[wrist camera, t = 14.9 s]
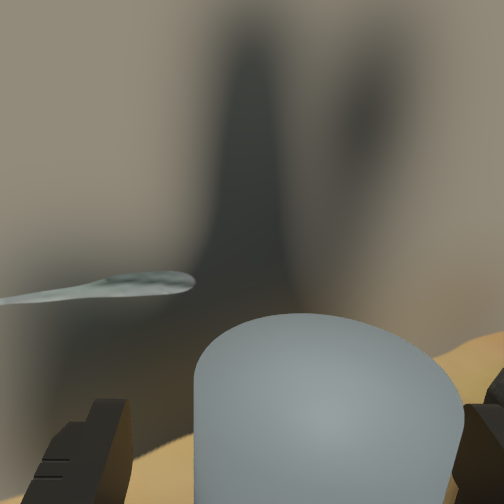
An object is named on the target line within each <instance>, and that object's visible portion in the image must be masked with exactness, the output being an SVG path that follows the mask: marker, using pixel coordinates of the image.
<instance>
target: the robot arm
mask: <svg viewBox="0 0 504 504" xmlns="http://www.w3.org/2000/svg"><path fill="white" fill-rule="evenodd" d="M463 409H464V428H463V432H462V436H461V439H460V443H459V447H458V450H457V454H456V458H455V461H454V465H453V469H452V475H453V478H454V480H455V482H456V484H457V486H458V488H459V490H460V491H461V493H462V495H463V497H464V499H465V501H466V503H467V504H504V408H503V407H502V406H500V405H498V404H465V405H464V406H463ZM132 462H133V441H132V425H131V409H130V401H129V399H96V400H95V401H94V403H93V405H92V407H91V410H90V412H89V415H88V417H87V420H86V422H69V423H68V424H67V425H66V426H65V427H64V428H63V429H62V430H61V431H60V432H59V433H58V434H56V435H55V436H54V438H52V440H51V442H50V444H49V446H48V448H47V450H46V452H45V454H44V456H43V458H42V463H40V465H39V467H38V469H37V471H36V473H35V475H34V479H33V480H32V481H31V483H30V485H29V487H28V489H27V491H26V493H25V495H24V497H23V499H22V502H21V504H124V501H125V497H126V493H127V489H128V485H129V481H130V476H131V470H132Z"/></svg>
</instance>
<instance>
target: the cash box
mask: <svg viewBox="0 0 504 504" xmlns="http://www.w3.org/2000/svg"><path fill="white" fill-rule="evenodd" d="M483 404H498V405H500V406H502V407H503V408H504V368H503V369H502V370H501V371H500V373H499V374H498V376H497V377H496V378H495V380H494V381H493V382H492V384H491V385H490V386H489V388H488V389H487V393H486V396H485V400H484V403H483ZM455 504H467V503H466V501H465V499H464V497H463V495H462V493H461V491H460V490H458V493H457V497H456V500H455Z"/></svg>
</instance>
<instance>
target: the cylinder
mask: <svg viewBox="0 0 504 504" xmlns="http://www.w3.org/2000/svg"><path fill="white" fill-rule="evenodd" d="M463 428H464V409H463V404H462V400H461V398H460V395H459V393H458V390H457V389H456V387H455V385H454V384H453V382H452V380H451V379H450V378H449V376H448V375H447V374H446V373H445V371H444V370H443V369H442V368H441V367H440V366H439V365H438V364H437V363H436V362H435V361H434V360H433V359H432V358H430V357H429V356H428V355H427V354H425V353H424V352H423V351H421V350H420V349H418V348H417V347H415V346H414V345H412V344H411V343H409V342H407V341H405V340H403V339H402V338H400V337H398V336H396V335H394V334H392V333H390V332H388V331H385V330H383V329H380V328H378V327H375V326H372V325H369V324H366V323H362V322H359V321H355V320H351V319H347V318H342V317H336V316H330V315H321V314H305V313H304V314H282V315H274V316H268V317H263V318H259V319H255V320H252V321H248V322H245V323H243V324H240V325H238V326H236V327H234V328H232V329H230V330H228V331H226V332H225V333H223V334H222V335H220V336H219V337H218V338H216V339H215V340H214V341H213V342H212V343H211V344H210V345H209V346H208V347H207V348H206V350H205V351H204V352H203V354H202V355H201V357H200V359H199V361H198V363H197V366H196V370H195V375H194V504H443V501H444V498H445V494H446V490H447V487H448V483H449V480H450V476H451V472H452V469H453V465H454V461H455V458H456V454H457V450H458V447H459V443H460V439H461V436H462V432H463Z"/></svg>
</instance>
